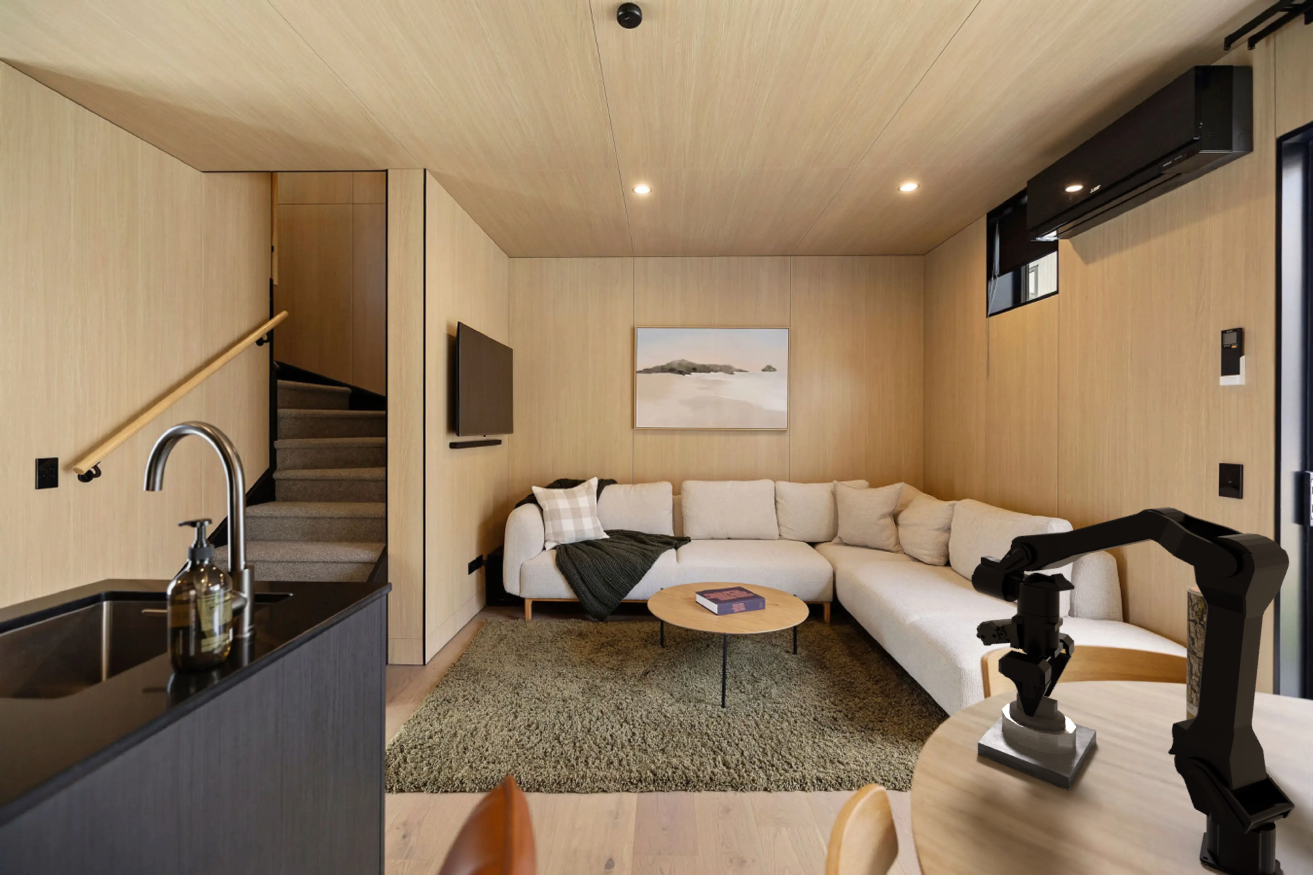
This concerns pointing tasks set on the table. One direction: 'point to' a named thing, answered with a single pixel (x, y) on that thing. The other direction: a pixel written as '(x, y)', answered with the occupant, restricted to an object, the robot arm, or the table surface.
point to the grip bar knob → (1040, 715)
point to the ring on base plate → (1039, 749)
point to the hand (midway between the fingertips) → (1037, 705)
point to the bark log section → (1194, 647)
